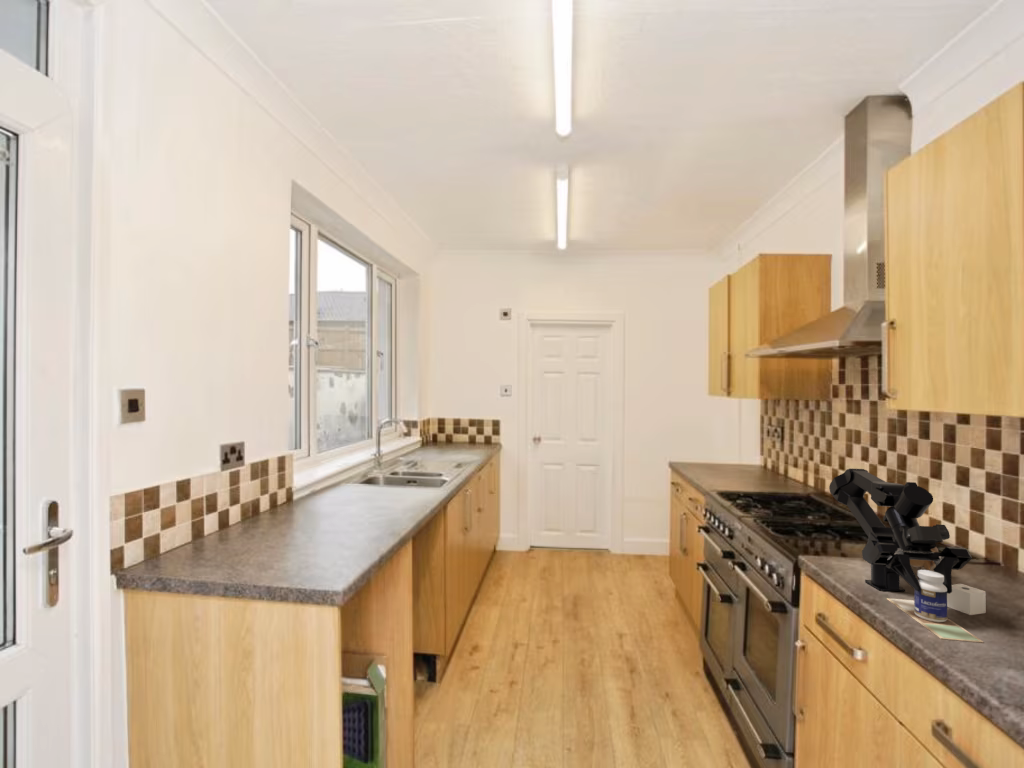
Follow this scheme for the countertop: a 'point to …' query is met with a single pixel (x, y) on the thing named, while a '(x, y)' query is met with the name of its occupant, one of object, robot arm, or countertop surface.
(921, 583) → the pill bottle
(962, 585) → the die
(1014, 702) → the countertop surface
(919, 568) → the lion figurine
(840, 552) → the countertop surface
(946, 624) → the game board
